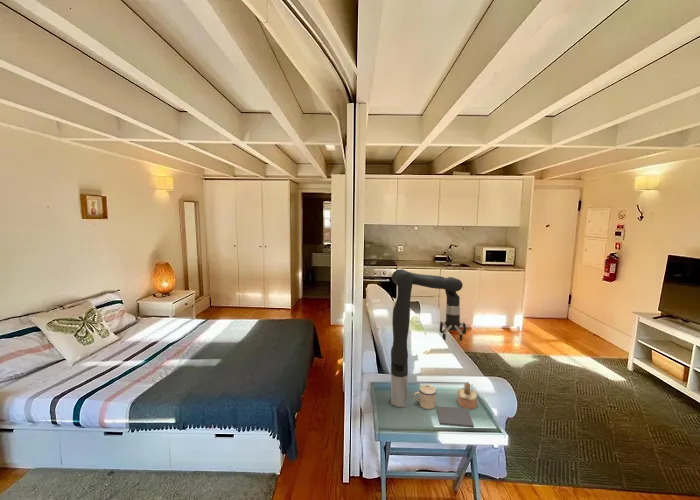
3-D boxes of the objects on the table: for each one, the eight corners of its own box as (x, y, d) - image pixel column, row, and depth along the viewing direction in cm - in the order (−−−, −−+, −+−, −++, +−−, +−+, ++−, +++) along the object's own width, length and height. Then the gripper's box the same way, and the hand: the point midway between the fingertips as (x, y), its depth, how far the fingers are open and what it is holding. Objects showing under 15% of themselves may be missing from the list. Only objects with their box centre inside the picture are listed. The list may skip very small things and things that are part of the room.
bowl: (460, 408, 166) (460, 399, 165) (456, 398, 175) (457, 390, 174) (477, 409, 164) (478, 400, 164) (473, 399, 173) (474, 391, 173)
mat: (439, 424, 153) (440, 422, 153) (436, 407, 166) (436, 406, 166) (473, 427, 150) (473, 425, 150) (467, 410, 164) (467, 408, 164)
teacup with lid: (434, 400, 173) (434, 380, 172) (437, 410, 164) (438, 389, 163) (412, 399, 174) (413, 380, 173) (415, 409, 165) (415, 388, 164)
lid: (459, 399, 165) (459, 388, 164) (456, 389, 175) (456, 379, 174) (479, 401, 163) (479, 390, 163) (474, 391, 173) (474, 380, 173)
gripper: (440, 314, 172) (440, 342, 173) (467, 315, 169) (466, 343, 171) (439, 310, 179) (438, 337, 180) (464, 311, 177) (464, 338, 178)
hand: (452, 340), depth 176 cm, fingers open, 8 cm apart
